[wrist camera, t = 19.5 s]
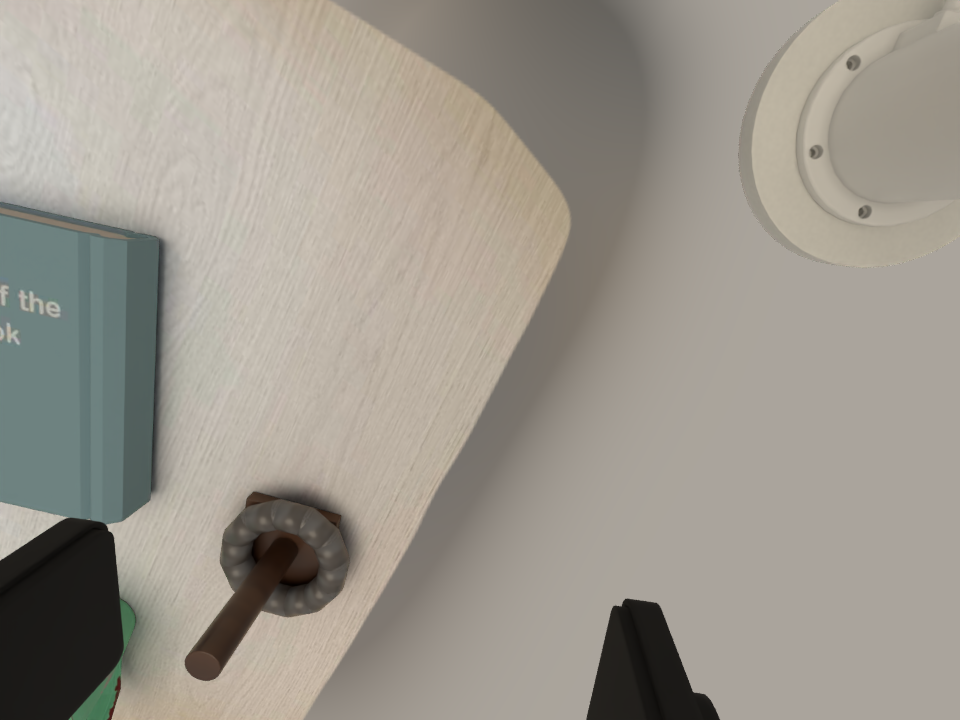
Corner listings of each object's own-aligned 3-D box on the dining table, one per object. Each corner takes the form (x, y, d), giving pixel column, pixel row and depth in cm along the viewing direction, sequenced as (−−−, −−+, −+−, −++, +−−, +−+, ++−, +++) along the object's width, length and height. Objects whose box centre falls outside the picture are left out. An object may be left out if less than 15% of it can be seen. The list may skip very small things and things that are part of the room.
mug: (49, 574, 47) (-69, 663, 38) (146, 571, 47) (50, 661, 37) (93, 695, 51) (-4, 804, 42) (183, 694, 50) (105, 805, 41)
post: (253, 491, 44) (146, 600, 31) (341, 514, 44) (271, 634, 31) (242, 565, 46) (137, 696, 33) (326, 588, 46) (254, 727, 33)
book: (-36, 193, 38) (-115, 189, 34) (167, 239, 38) (117, 241, 33) (-18, 454, 44) (-82, 483, 40) (157, 494, 44) (113, 527, 40)
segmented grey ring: (238, 481, 42) (222, 496, 40) (362, 514, 42) (353, 531, 40) (224, 584, 45) (208, 603, 43) (339, 615, 45) (330, 636, 43)
